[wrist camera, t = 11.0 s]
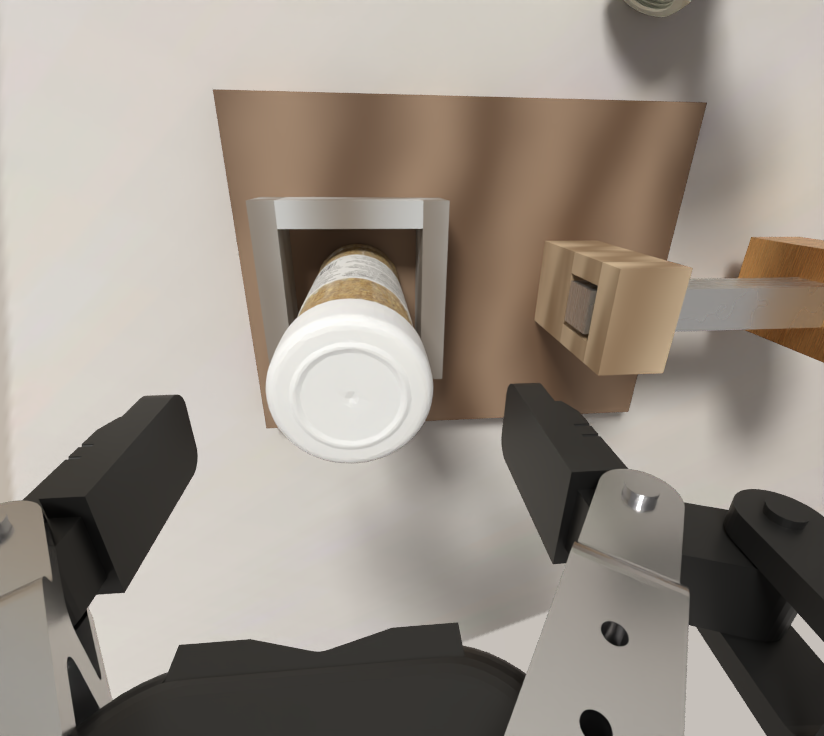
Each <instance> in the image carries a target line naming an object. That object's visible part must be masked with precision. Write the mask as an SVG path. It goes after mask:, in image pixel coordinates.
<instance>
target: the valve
mask: <svg viewBox="0 0 824 736" xmlns="http://www.w3.org/2000/svg"><path fill="white" fill-rule="evenodd" d="M624 1H625V2H626V3H627V4H628V5H629V6H630V7H632V8H633V9H635V10H637V11H639V12H641V13H643V14H646V15H650V16H655V17H666V16H669V15H672V14H674V13H675V12H677V11H679V10H680V9H682V8H683V7H685V6H686V5H688V4H689V3H690V2H691V0H624Z"/></svg>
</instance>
